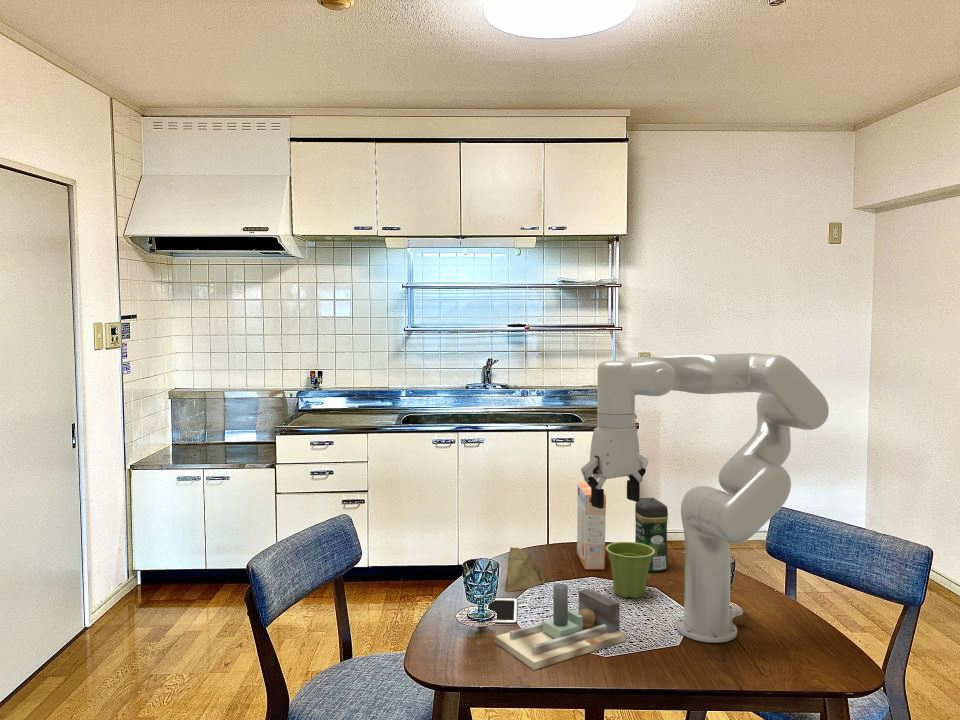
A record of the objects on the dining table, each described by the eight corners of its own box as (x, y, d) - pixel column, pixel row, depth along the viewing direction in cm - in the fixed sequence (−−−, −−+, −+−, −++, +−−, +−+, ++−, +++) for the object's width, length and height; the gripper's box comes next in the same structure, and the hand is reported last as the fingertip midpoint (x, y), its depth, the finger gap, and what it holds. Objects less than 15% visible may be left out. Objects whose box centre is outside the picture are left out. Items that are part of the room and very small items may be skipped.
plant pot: (645, 606, 175) (645, 559, 175) (598, 596, 181) (598, 551, 181) (660, 590, 185) (661, 546, 185) (616, 581, 192) (616, 538, 191)
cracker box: (606, 570, 200) (606, 494, 198) (584, 570, 200) (584, 494, 198) (597, 553, 214) (597, 481, 212) (576, 553, 214) (576, 482, 212)
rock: (545, 568, 195) (507, 562, 195) (549, 550, 189) (510, 544, 190) (542, 605, 187) (502, 599, 187) (545, 587, 181) (505, 581, 182)
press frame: (583, 617, 169) (583, 585, 169) (625, 640, 157) (626, 606, 157) (495, 643, 157) (494, 608, 156) (534, 670, 145) (534, 632, 144)
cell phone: (517, 601, 180) (517, 597, 180) (517, 627, 165) (517, 622, 165) (485, 600, 180) (485, 596, 180) (482, 626, 166) (482, 622, 166)
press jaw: (564, 624, 161) (564, 578, 160) (582, 634, 156) (582, 587, 155) (542, 631, 158) (542, 584, 157) (560, 641, 153) (560, 593, 152)
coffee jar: (631, 561, 207) (631, 496, 205) (658, 560, 207) (659, 495, 206) (642, 573, 197) (643, 505, 196) (671, 572, 198) (672, 504, 197)
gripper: (634, 415, 159) (633, 494, 160) (571, 422, 150) (571, 505, 151) (660, 419, 153) (659, 501, 154) (595, 427, 143) (595, 514, 145)
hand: (615, 503), depth 152 cm, fingers open, 9 cm apart
